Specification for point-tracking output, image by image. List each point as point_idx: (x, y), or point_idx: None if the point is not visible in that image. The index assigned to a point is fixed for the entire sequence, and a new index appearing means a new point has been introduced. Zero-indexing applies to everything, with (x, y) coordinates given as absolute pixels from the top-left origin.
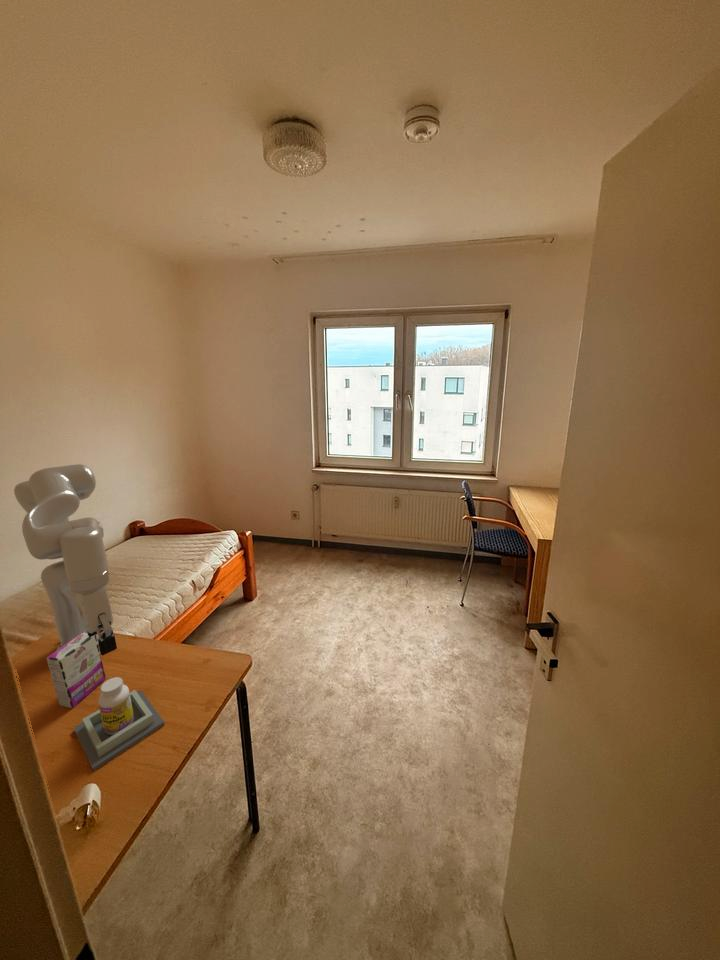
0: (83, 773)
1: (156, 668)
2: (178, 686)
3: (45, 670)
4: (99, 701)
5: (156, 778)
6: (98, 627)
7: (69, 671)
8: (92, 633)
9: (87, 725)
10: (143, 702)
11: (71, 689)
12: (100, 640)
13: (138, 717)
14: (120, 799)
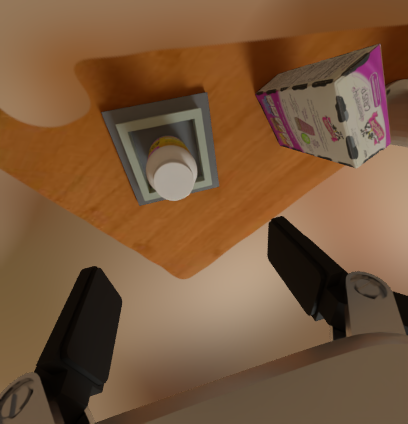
0: (106, 97)
1: (248, 204)
2: (196, 223)
3: None
4: (165, 149)
5: (50, 185)
6: (283, 269)
7: (302, 99)
8: (274, 237)
9: (180, 114)
10: None
11: (275, 97)
12: (23, 386)
13: None
14: (31, 141)
